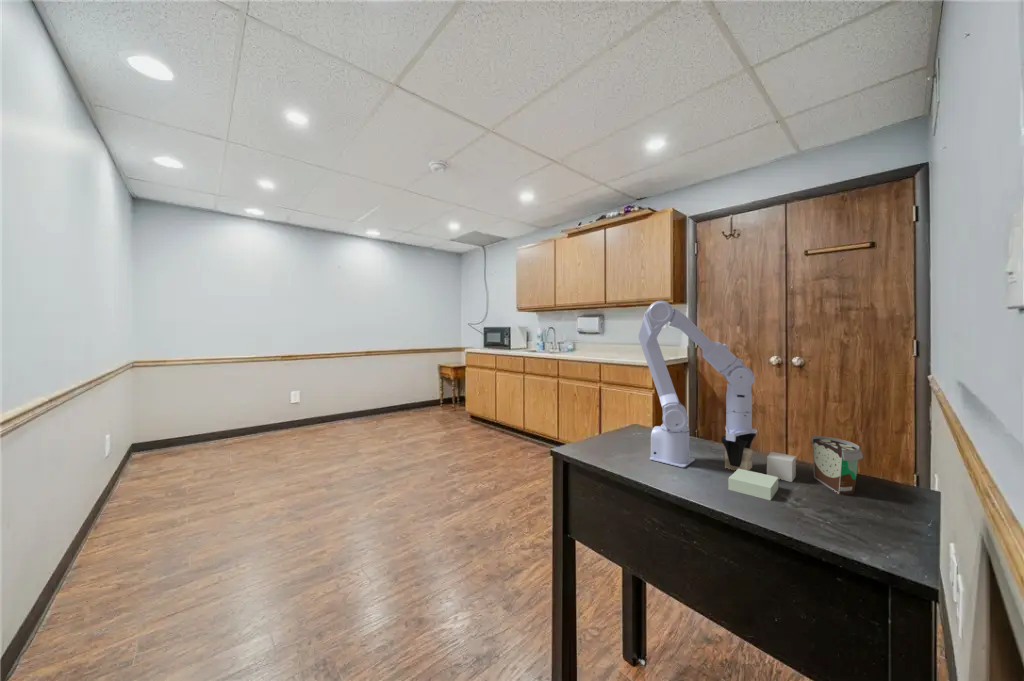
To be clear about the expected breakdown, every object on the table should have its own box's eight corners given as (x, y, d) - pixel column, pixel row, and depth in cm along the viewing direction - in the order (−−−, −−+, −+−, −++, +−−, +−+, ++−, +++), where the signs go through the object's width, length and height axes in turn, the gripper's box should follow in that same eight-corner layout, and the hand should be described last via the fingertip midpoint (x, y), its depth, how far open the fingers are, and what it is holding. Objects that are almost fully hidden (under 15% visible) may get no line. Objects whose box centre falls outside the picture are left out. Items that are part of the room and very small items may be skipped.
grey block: (766, 476, 93) (766, 456, 92) (771, 471, 96) (771, 451, 96) (791, 482, 89) (792, 461, 89) (795, 476, 93) (795, 456, 92)
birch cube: (724, 468, 98) (725, 449, 98) (730, 463, 102) (730, 445, 102) (746, 473, 95) (747, 453, 95) (752, 468, 98) (752, 449, 98)
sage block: (728, 491, 86) (728, 478, 85) (738, 480, 91) (738, 468, 91) (770, 502, 80) (770, 488, 80) (778, 490, 86) (778, 477, 85)
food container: (877, 499, 80) (878, 452, 79) (843, 497, 81) (844, 451, 80) (839, 476, 92) (839, 436, 91) (810, 475, 93) (810, 434, 93)
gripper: (749, 418, 90) (748, 474, 90) (763, 408, 100) (763, 459, 100) (716, 413, 95) (716, 467, 95) (733, 404, 105) (733, 453, 105)
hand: (738, 462), depth 98 cm, fingers open, 6 cm apart
